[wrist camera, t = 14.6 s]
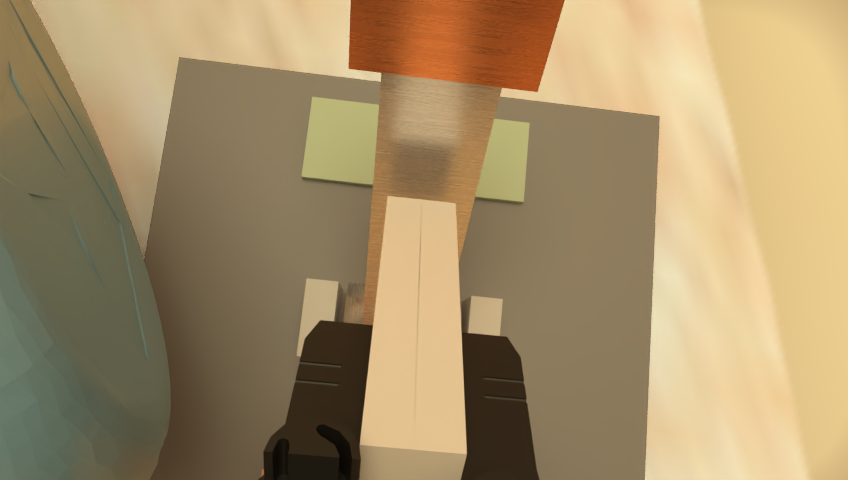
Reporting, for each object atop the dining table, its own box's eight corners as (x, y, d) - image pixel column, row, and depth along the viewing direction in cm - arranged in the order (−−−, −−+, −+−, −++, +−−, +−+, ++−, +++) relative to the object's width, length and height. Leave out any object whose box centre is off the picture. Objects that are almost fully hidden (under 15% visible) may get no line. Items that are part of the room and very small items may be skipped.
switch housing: (141, 540, 26) (49, 614, 19) (212, 106, 29) (156, 22, 22) (591, 578, 27) (672, 663, 20) (613, 154, 30) (691, 89, 23)
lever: (338, 380, 22) (353, -57, 11) (349, 309, 24) (370, -127, 13) (448, 391, 22) (572, -28, 11) (450, 319, 24) (558, -101, 13)
